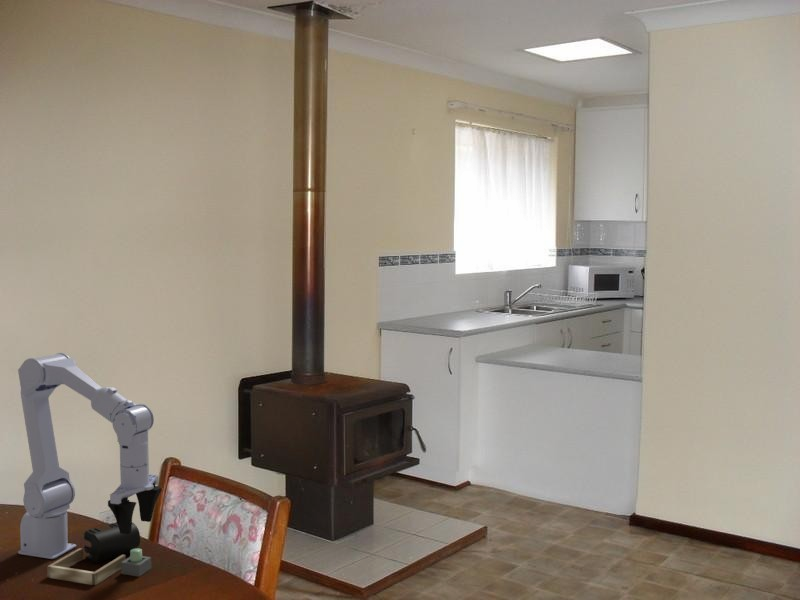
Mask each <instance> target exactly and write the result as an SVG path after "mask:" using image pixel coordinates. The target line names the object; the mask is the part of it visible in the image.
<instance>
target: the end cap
mask: <svg viewBox="0 0 800 600" xmlns="http://www.w3.org/2000/svg"><path fill="white" fill-rule="evenodd" d="M108 527H110V528H108V529H100V528H98V527H94V528H93V529H92V528H91V529H88V530H85V531H84V534H83V539H84V541H87V542H89V543H90V545H91V546H90V545H88V544H84V547H83V549H84V550H83V551H84V552H85V553H87V554H86V555H85V560H88V561H90V562H91V563H93V564H99V563H101V562H105V561H108V560H111V559H114V558H115V559H116V558H118V557H119V556H121V555H127V554H130V551H131V550H132V549H136V548H139V546H140V544H141V543H140V542H141V533H140V531H139V528H138V526H137V525H136V524H135V523H134V522H133V521H132V528H131V533H130V534H122V533H120V530H119V527H118V524H117V521H116V522H113V523H112V522H111V523H109V524H108Z"/></svg>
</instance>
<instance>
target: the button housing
mask: <svg viewBox="0 0 800 600" xmlns="http://www.w3.org/2000/svg"><path fill="white" fill-rule="evenodd" d="M151 569H152V557H151V556H146V555H145V556H144V555H142V561H141V562H139V563H134V562H130V556H129V557H127V558H126V559H125V560H124V561H122V562H121V569H120V574H121V575H127V576H133V577H138V578H139V577H141V576H143V575H144V574H146V573H147V572H148V571H150V570H151Z"/></svg>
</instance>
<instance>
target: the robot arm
mask: <svg viewBox="0 0 800 600" xmlns="http://www.w3.org/2000/svg"><path fill="white" fill-rule="evenodd" d="M17 372H18V379H19V385H20V399H21V404H22V405H21V406H22V410H23V417H24V423H25V430H26V437H27V443H28V450H29V455H30V456H29V457H30V462H31V468H32V472H31V474H30V475H29V476H28V477H27V479H26V480H25V482H24V484H23V487H24V489H23V490H24V494H23V506H24V509H25V510H26V512H25V513H24V514H23V516H22V518H21V520H20V527H19V531H20V533H19V534H20V549H19V550H18V551H17V553H18V554H19V555H24V556H29V557H37V558H44V559H50V560H54V559H57V558H59V557H60V556H62V555H64V554H65V553H67V552H70V551H71V550H73V549H75V548H76V547H77V544H75V543H71V542H70V543H68V541H69V539H68V537H69V536H68V510H70V507H71V506H70V505H71V504H72V503H73V502H74V500H75V496H76V491H75V489H76V488H75V487H74V485H73V483H72V481H71V478H70V473H69V472H68V471H67V470H65V469H63V468H62V467H61V466H60V465H59V463H60V462H59V457H58V451H57V445H56V443H57V442H56V437H55V431H54V426H53V419H52V412H51V407H50V400H49V398H50V396H51V395H52V394H53V393H54V391H55V389H56V388H59V387H60V386H61V385H65V386H66V387H68V388H70V390H71V389H72V390H73V391H74V392H76V393H78V394H79V395H81V396H82V397H84V398H86V399H87V400H89V401H90V406H91V409H92V410H93V411H95V412H96V413H98V415H100V416H102V417H103V418H104V419H106V420H107V421H108V422H109V423H111V425H112V427H113V428H112V429H113V430H114V433H115V434H116V438H117V442H118V445H119V464H120V465H119V469H120V471H119V473H120V475H119V476H120V484H119V486H118V487H117V488H116V489H115V490H114V491H113V492H111V493H110V494H109V499H108V500H107V507H108V508H109V509H110V510H111V512H112V513H113V515H114V518H115V521H116V522H117V524H118V527H119V530H120V533H122V534H130V533H131V528H132V522H133V515H134V511H135V507H136V505H137V502H138V507H139V508H138V509H139V516H140V517H139V518H140V520H141V522H148V523H150V522H152V519H153V516H154V510H155V507H156V503H157V500H158V498H159V496H160V494H161V492H162V487H161V486H159V485H158V484H159V474H150V467H149V465H150V461H149V457H150V455H149V430H150V429H151V428H153V425H154V421H155V420H154V419H155V418H154V414H153V412H152V410H151V408H149V407H148V406H147V405H146V404H145V403H144V404H143V403H139V404H137V403H134V402H133V400H131V399H128V398H126V397H125V396H123V395H122V394H121V393H119V392H118V389H117V388H116V387H114V386H112V387H110V386H104V387H102V386H101V385H99V384H98V383H97V382H95V381H94V380H93V379H92V378H91V377H90V376H89V375H87V374H86V373H85V372H84V371H82V369H80V368H79V367H78V366H77V363H76V359H74V358H71V357H70V356H69V355H68V354H67V353H63V352H58V353H56V354H52V355H51V354H50V355H46V356H40V357H35V358H34V357H29V358H27V359H25V360H24V361H23V362H22V364H21V365H20V366H19V368H18V369H17ZM134 495H136V498H137V502H136V501H130V499H128V498H130V497H132V496H134Z"/></svg>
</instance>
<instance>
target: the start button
mask: <svg viewBox="0 0 800 600" xmlns="http://www.w3.org/2000/svg"><path fill="white" fill-rule="evenodd" d="M129 554H130V555H129V557H130V562H134V563H139V562H141V561H142V556H143V549H142V548H139V547H138V548H136V549H132V550H131V551H130V553H129Z"/></svg>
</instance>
